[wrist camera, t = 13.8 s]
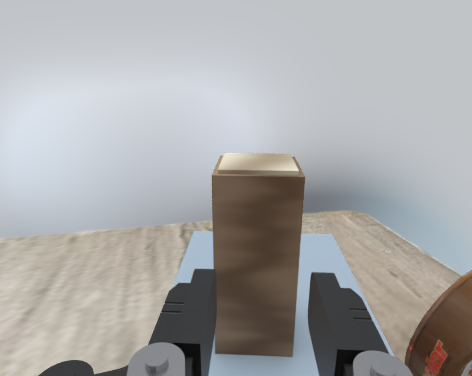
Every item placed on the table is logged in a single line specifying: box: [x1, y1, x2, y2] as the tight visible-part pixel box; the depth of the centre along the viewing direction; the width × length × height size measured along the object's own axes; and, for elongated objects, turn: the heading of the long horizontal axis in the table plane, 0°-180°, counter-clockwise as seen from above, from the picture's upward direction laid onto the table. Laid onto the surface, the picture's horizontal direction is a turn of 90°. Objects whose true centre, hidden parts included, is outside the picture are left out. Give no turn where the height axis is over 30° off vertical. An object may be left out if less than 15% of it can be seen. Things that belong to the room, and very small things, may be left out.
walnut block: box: [212, 153, 305, 357], centre depth 23 cm, size 5×5×12 cm
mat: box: [172, 231, 395, 376], centre depth 28 cm, size 16×24×1 cm, turn 177°
